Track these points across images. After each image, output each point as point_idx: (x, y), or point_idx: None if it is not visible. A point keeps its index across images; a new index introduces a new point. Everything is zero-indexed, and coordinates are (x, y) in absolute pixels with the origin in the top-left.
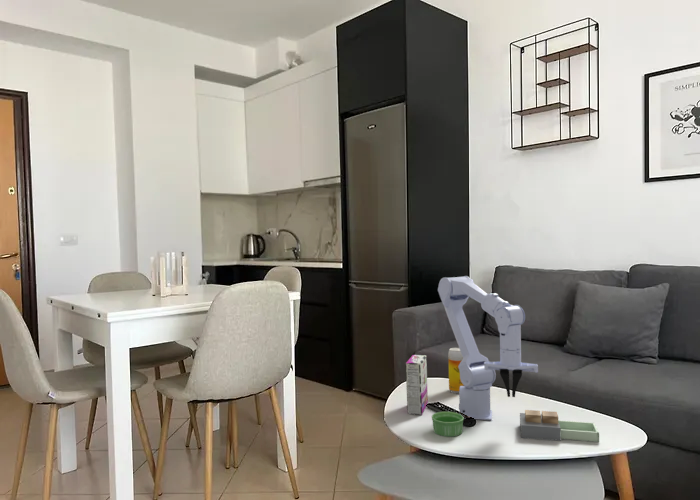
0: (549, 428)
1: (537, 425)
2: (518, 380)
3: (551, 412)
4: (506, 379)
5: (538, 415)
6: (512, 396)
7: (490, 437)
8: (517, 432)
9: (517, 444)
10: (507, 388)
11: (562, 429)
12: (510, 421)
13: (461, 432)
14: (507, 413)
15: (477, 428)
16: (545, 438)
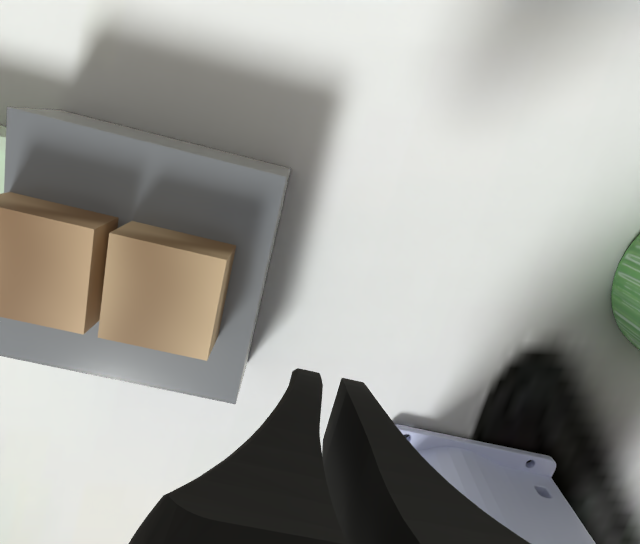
0: (92, 126)
1: (170, 164)
2: (231, 465)
3: (12, 298)
4: (439, 512)
5: (129, 236)
6: (318, 373)
7: (477, 181)
8: (292, 254)
9: (347, 59)
10: (385, 428)
11: (4, 150)
12: None
13: (635, 242)
14: None
15: (504, 320)
16: (148, 132)
